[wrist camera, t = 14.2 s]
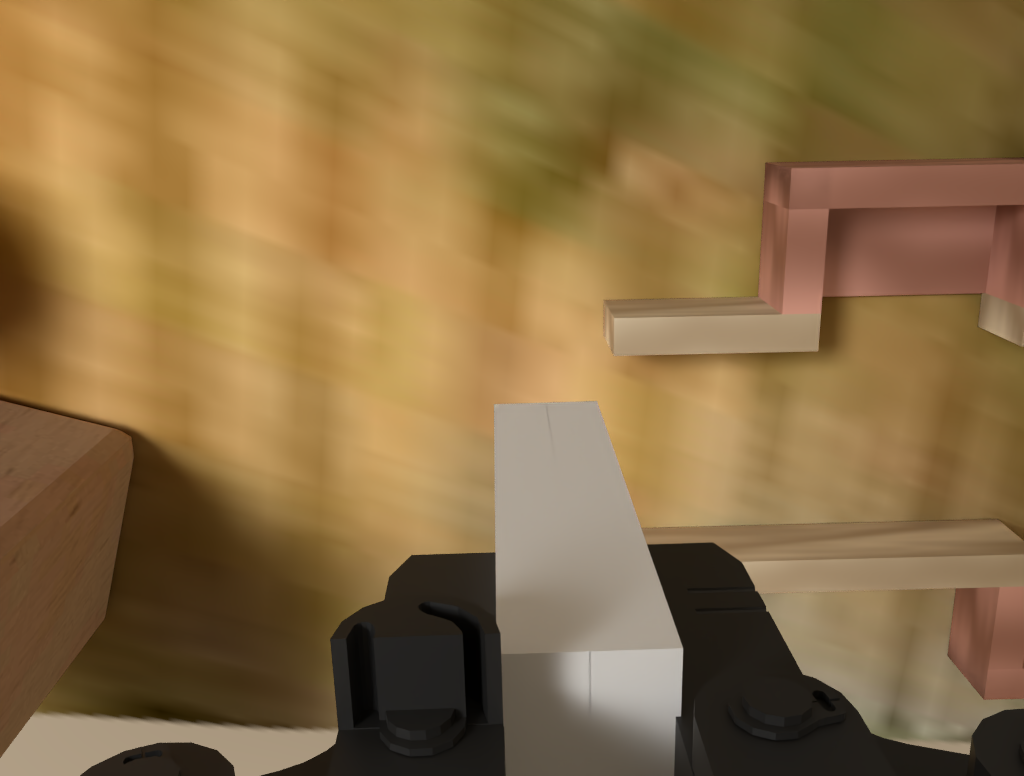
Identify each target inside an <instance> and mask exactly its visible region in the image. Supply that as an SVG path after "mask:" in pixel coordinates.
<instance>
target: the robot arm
mask: <svg viewBox="0 0 1024 776" xmlns="http://www.w3.org/2000/svg"><path fill="white" fill-rule="evenodd" d="M494 438H495V549H496V553H465V554H433V555H411V556H410V557H409V558H408V559H407V560H406V561H405V562H404V563H403V564H402V565H401V566H400V567H399V568H398V569H397V570H396V571H395V572H394V573H393V574H392V575H391V576H390V577H389V581H388V585H387V590H386V595H385V599H384V601H381V602H378V603H375V604H372V605H369V606H366V607H364V608H362V609H360V610H359V611H357V612H356V613H354V614H353V615H351V616H350V617H348V618H347V619H345V620H344V621H342V622H341V624H340V625H339V627H338V628H337V630H336V631H335V633H334V634H333V636H332V637H331V639H330V641H331V652H332V663H333V674H334V685H335V696H336V707H337V718H338V729H339V730H338V735H337V739H336V744H334V745H333V746H332V747H331V748H329V749H328V750H327V751H325V752H323V753H321V754H320V755H318V756H316V757H314V758H312V759H310V760H308V761H306V762H304V763H301V764H298V765H295V766H292V767H290V768H286V769H283V770H280V771H277V772H273V773H269V774H265V775H261V776H1024V709H1014V710H1004V711H1002V712H999V713H997V714H994V715H992V716H990V717H987V718H985V719H983V720H982V721H981V723H980V724H979V726H978V727H977V729H976V730H975V732H974V733H973V735H972V741H971V748H970V755H967V754H961V753H955V752H949V751H943V750H938V749H932V748H926V747H921V746H915V745H909V744H905V743H901V742H897V741H893V740H889V739H885V738H882V737H879V736H876V735H874V734H871V732H870V731H869V729H868V727H867V726H866V724H865V722H864V721H863V719H862V717H861V716H860V714H859V712H858V711H857V710H856V709H855V707H854V706H853V705H852V704H851V703H850V702H849V701H848V700H847V699H846V698H845V697H844V696H843V695H842V693H840V692H839V691H837V690H835V689H833V688H832V687H830V686H828V685H826V684H825V683H823V682H821V681H819V680H817V679H816V678H813V677H809V676H806V675H803V674H802V672H801V670H800V669H799V667H798V665H797V663H796V661H795V659H794V657H793V656H792V654H791V652H790V650H789V648H788V646H787V645H786V643H785V641H784V639H783V637H782V635H781V633H780V632H779V630H778V628H777V626H776V624H775V622H774V621H773V619H772V617H771V615H770V613H769V612H766V606H765V604H764V602H763V600H762V598H761V596H760V595H759V593H758V591H755V585H754V584H753V582H752V580H751V578H750V576H749V574H748V572H747V571H746V569H745V567H744V565H743V563H742V562H741V561H739V560H738V559H737V558H735V557H734V556H732V555H731V554H729V553H728V552H726V551H725V550H724V549H722V548H721V547H719V546H718V545H716V544H715V543H713V542H708V543H677V544H647V543H646V540H645V538H644V535H643V532H642V529H641V526H640V523H639V520H638V518H637V515H636V512H635V509H634V506H633V503H632V500H631V498H630V495H629V492H628V489H627V486H626V483H625V480H624V477H623V475H622V472H621V469H620V466H619V463H618V460H617V457H616V455H615V452H614V449H613V446H612V443H611V440H610V437H609V434H608V432H607V429H606V426H605V423H604V420H603V417H602V414H601V412H600V409H599V406H598V403H597V401H586V402H553V403H520V404H494ZM80 776H235V773H234V767H233V765H232V764H231V763H230V762H229V761H228V760H227V759H226V758H224V756H222V755H221V754H220V753H219V752H218V751H217V750H214V749H211V748H207V747H204V746H201V745H198V744H194V743H157V744H153V745H148V746H144V747H139V748H136V749H132V750H128V751H124V752H122V753H120V754H118V755H115V756H113V757H111V758H109V759H107V760H105V761H103V762H101V763H99V764H97V765H94V766H92V767H91V768H89V769H88V770H87V771H85V772H84V773H83V774H82V775H80Z"/></svg>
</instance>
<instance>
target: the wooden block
mask: <svg viewBox="0 0 1024 776" xmlns="http://www.w3.org/2000/svg"><path fill="white" fill-rule="evenodd" d="M133 459H134V452H133V445H132V439H131V436H129V435H127V434H126V433H124V432H122V431H121V430H118V429H114V428H110V427H106V426H102V425H98V424H94V423H90V422H86V421H82V420H78V419H74V418H70V417H66V416H62V415H58V414H54V413H50V412H45V411H41V410H37V409H33V408H29V407H25V406H21V405H17V404H13V403H9V402H5V401H1V400H0V758H1V756H2V755H3V753H4V752H5V751H6V749H7V748H8V747H9V745H10V744H11V743H12V741H13V740H14V739H15V738H16V736H17V735H18V733H19V732H20V731H21V730H22V728H23V727H24V725H25V724H26V723H27V721H28V720H29V719H30V717H31V716H32V715H33V713H34V712H35V711H36V709H37V708H38V707H39V705H40V704H41V703H42V701H43V700H44V699H45V697H46V696H47V695H48V693H49V692H50V691H51V689H52V688H53V687H54V685H55V684H56V683H57V681H58V680H59V679H60V677H61V676H62V675H63V673H64V672H65V671H66V669H67V668H68V667H69V665H70V664H71V663H72V661H73V660H74V659H75V657H76V656H77V655H78V653H79V652H80V651H81V649H82V648H83V647H84V645H85V644H86V643H87V641H88V640H89V639H90V637H91V636H92V635H93V633H94V632H95V631H96V629H97V628H98V627H99V625H100V624H101V623H102V621H103V620H104V619H105V616H106V610H107V604H108V599H109V593H110V588H111V582H112V576H113V571H114V565H115V560H116V554H117V548H118V543H119V537H120V532H121V526H122V520H123V515H124V509H125V504H126V498H127V493H128V487H129V481H130V476H131V470H132V465H133Z"/></svg>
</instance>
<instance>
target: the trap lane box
mask: <svg viewBox="0 0 1024 776" xmlns="http://www.w3.org/2000/svg"><path fill="white" fill-rule="evenodd" d="M972 293H982V298H981V306H980V314H979V322H978V327H980V328H982V329H984V330H987V331H989V332H991V333H993V334H995V335H997V336H1000V337H1002V338H1004V339H1006V340H1008V341H1010V342H1013V343H1015V344H1017V345H1019V346H1021V347H1024V158H977V159H927V160H877V161H827V162H777V163H766V165H765V183H764V201H763V219H762V236H761V254H760V272H759V290H758V297H725V298H679V299H634V300H604V337H605V339H606V341H607V343H608V345H609V347H610V349H611V351H612V354H613V356H632V355H676V354H719V353H763V352H807V351H818V347H819V334H820V320H821V307H822V297H836V296H881V295H926V294H972ZM641 529H642V532H643V535H644V538H645V540H646V543H647V544H677V543H708V542H713V543H715V544H716V545H718V546H719V547H721V548H722V549H724V550H725V551H726V552H728V553H729V554H731V555H732V556H734V557H735V558H737V559H738V560H739V561H741V562H742V563H743V565H744V567H745V569H746V571H747V572H748V574H749V576H750V578H751V580H752V582H753V584H754V585H755V591H758V593H759V594H761V593H798V592H836V591H873V590H911V589H949V588H956V593H955V601H954V609H953V617H952V624H951V632H950V640H949V648H948V657H949V658H950V659H951V660H952V662H953V663H954V664H955V665H956V666H957V668H958V669H959V670H960V671H961V672H962V674H963V675H964V676H965V677H966V678H967V680H968V681H969V682H970V683H971V685H972V686H973V687H974V688H975V689H976V691H977V692H978V693H979V694H980V695H981V697H982V698H983V699H984V700H986V699H1021V698H1024V540H1022V539H1021V538H1020V537H1019V536H1017V535H1016V534H1015V533H1014V532H1013V531H1011V530H1010V529H1009V528H1008V527H1007V526H1005V525H1004V524H1003V523H1002V522H1000V521H999V520H998V519H984V520H945V521H906V522H867V523H828V524H788V525H749V526H710V527H671V528H641Z"/></svg>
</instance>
